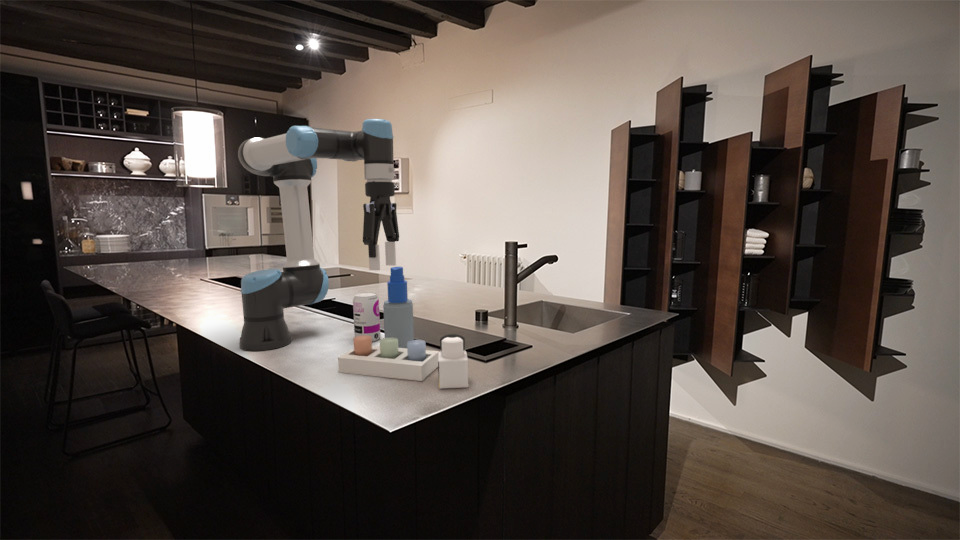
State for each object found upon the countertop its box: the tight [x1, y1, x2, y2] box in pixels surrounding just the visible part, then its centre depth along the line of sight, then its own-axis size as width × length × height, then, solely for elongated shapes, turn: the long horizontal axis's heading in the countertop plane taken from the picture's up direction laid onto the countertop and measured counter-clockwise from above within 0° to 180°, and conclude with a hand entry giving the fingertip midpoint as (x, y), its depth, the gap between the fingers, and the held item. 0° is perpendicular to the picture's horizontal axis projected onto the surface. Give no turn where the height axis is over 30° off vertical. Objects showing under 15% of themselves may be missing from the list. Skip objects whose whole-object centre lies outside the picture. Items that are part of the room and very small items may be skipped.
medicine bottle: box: [437, 333, 469, 390], centre depth 119 cm, size 7×7×12 cm
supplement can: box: [352, 292, 381, 343], centre depth 157 cm, size 8×8×15 cm
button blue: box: [407, 339, 427, 362], centre depth 127 cm, size 5×5×5 cm
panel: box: [337, 344, 440, 382], centre depth 130 cm, size 24×12×4 cm, turn 73°
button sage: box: [379, 337, 399, 359], centre depth 130 cm, size 5×5×5 cm
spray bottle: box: [383, 266, 415, 348], centre depth 147 cm, size 9×9×25 cm
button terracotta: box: [353, 335, 373, 356], centre depth 132 cm, size 5×5×5 cm
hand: (383, 267), depth 129 cm, fingers open, 8 cm apart
